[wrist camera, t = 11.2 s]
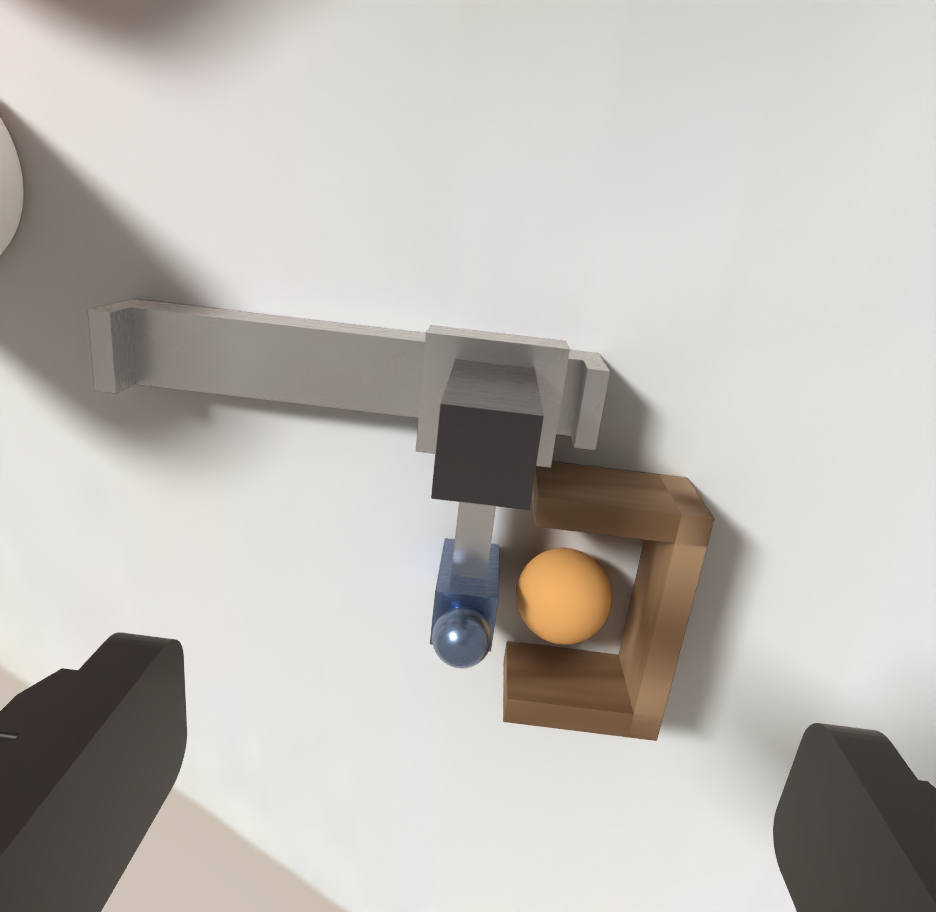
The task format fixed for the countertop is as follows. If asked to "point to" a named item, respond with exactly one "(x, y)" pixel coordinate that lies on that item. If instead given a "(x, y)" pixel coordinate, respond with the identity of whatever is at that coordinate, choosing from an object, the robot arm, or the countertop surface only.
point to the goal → (650, 612)
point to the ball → (563, 596)
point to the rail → (295, 361)
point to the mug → (9, 188)
